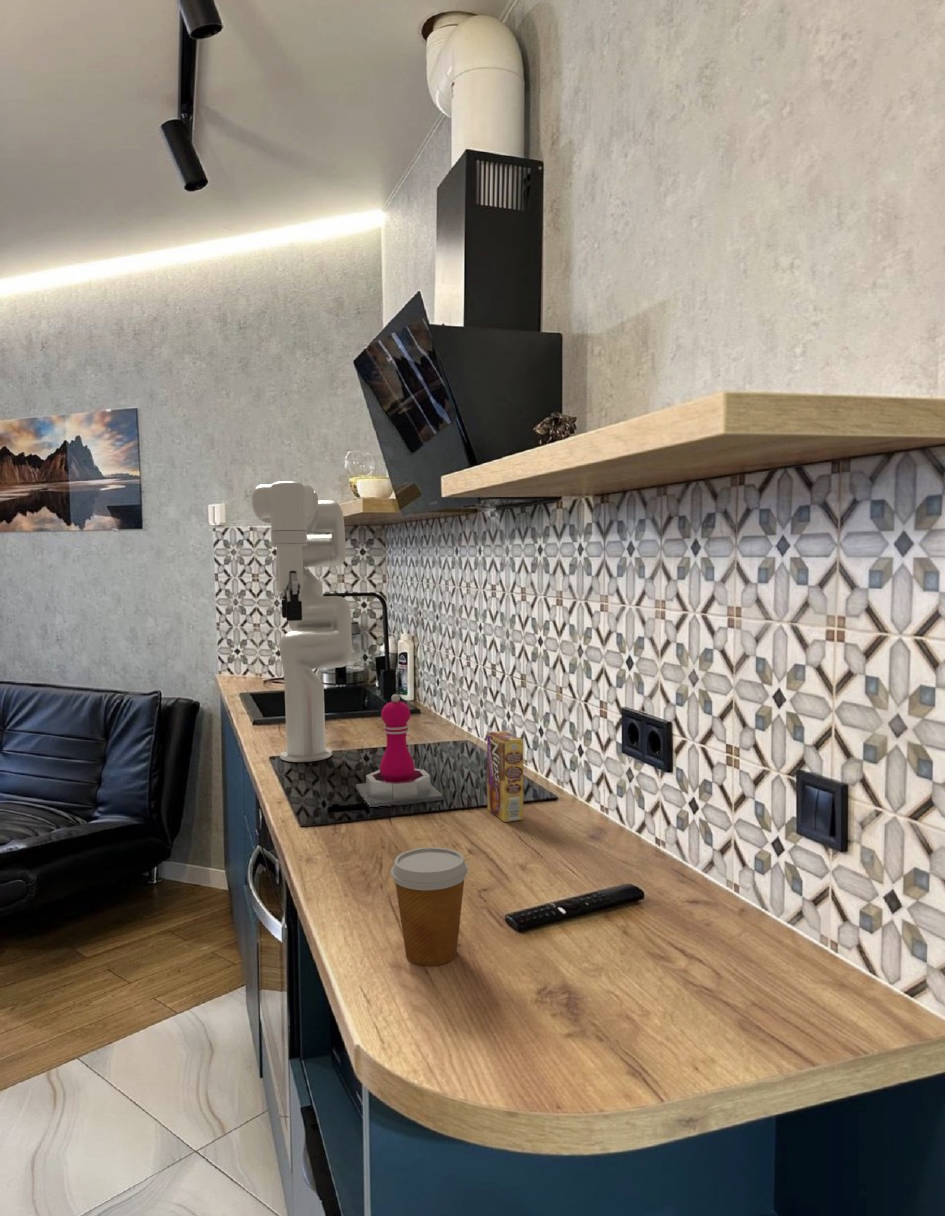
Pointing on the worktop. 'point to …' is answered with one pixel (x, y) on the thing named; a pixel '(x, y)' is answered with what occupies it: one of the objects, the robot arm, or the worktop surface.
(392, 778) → the pepper mill
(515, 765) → the candy box
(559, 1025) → the worktop surface
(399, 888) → the disposable coffee cup
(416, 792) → the collar stand
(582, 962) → the worktop surface
